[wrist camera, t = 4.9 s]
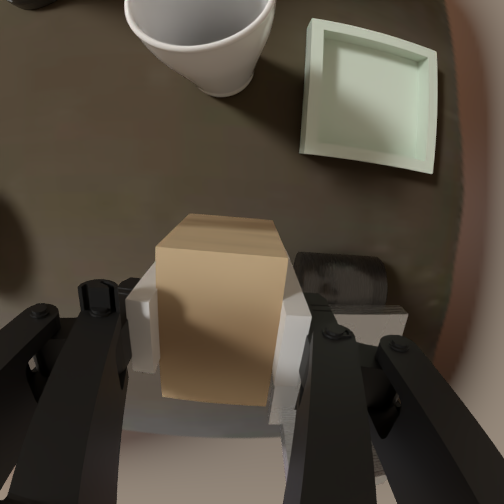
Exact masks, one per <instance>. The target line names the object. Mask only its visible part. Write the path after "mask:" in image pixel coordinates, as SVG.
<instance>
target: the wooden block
mask: <svg viewBox="0 0 504 504" xmlns="http://www.w3.org/2000/svg"><path fill="white" fill-rule="evenodd" d="M288 259H289V258H288V256H287V253H286V251H285V248H284V246H283V244H282V241H281V239H280V237H279V234H278V232H277V230H276V227H275V225H274V223H273V221H272V220H262V219H251V218H240V217H228V216H215V215H203V214H189V215H188V216H187V217H185V218H184V219H183V220H182V221H181V222H180V223H179V224H178V225H177V226H176V227H175V228H174V229H173V230H172V231H171V232H170V233H169V234H168V235H167V236H166V237H165V238H164V239H163V240H162V241H161V242H160V243H159V244H158V245H157V246H156V289H157V295H158V326H159V345H160V360H159V363H160V376H161V387H162V397H169V398H176V399H183V400H192V401H200V402H210V403H221V404H234V405H250V406H266V402H267V396H268V391H269V385H270V379H271V373H272V366H273V360H274V354H275V348H276V342H277V335H278V329H279V322H280V315H281V309H282V302H283V295H284V288H285V281H286V273H287V266H288Z"/></svg>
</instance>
